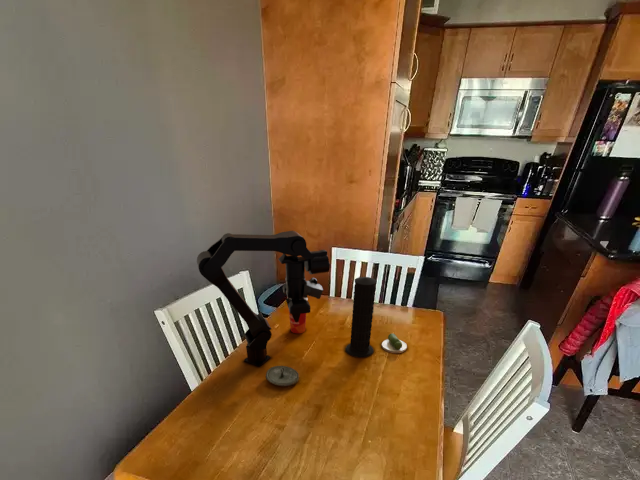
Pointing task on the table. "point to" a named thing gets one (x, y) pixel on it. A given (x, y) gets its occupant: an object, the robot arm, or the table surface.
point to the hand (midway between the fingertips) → (296, 321)
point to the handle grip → (362, 317)
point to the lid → (282, 376)
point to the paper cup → (298, 323)
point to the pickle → (394, 344)
